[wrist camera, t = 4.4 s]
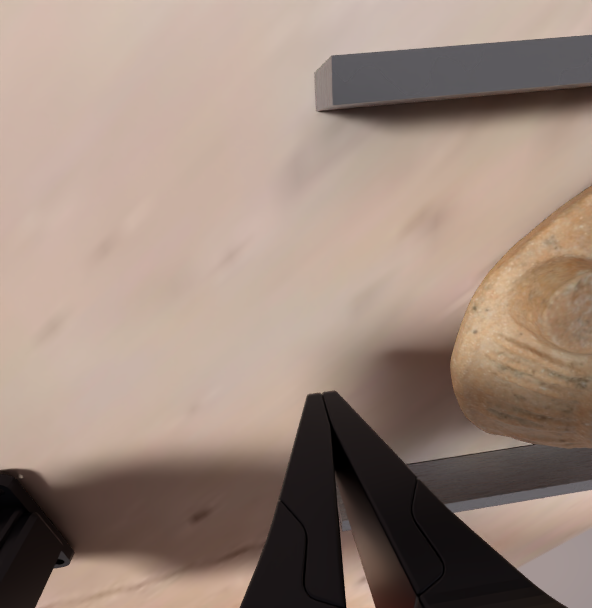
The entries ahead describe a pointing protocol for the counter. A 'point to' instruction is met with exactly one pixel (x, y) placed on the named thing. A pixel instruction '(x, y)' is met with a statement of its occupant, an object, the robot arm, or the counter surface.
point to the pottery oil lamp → (533, 336)
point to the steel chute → (451, 85)
